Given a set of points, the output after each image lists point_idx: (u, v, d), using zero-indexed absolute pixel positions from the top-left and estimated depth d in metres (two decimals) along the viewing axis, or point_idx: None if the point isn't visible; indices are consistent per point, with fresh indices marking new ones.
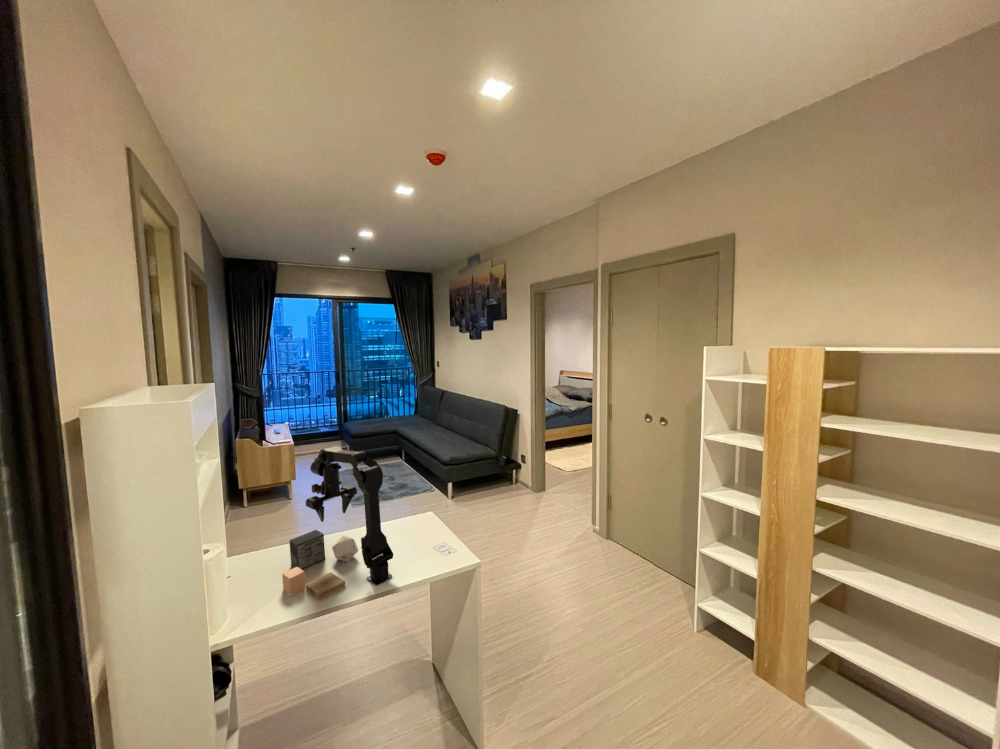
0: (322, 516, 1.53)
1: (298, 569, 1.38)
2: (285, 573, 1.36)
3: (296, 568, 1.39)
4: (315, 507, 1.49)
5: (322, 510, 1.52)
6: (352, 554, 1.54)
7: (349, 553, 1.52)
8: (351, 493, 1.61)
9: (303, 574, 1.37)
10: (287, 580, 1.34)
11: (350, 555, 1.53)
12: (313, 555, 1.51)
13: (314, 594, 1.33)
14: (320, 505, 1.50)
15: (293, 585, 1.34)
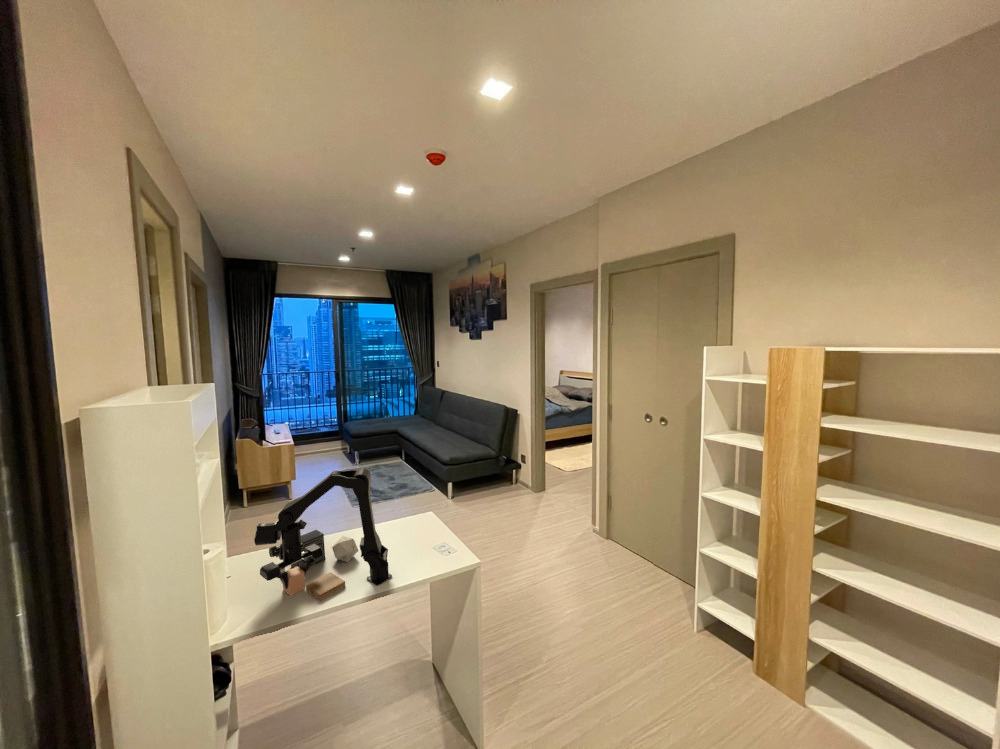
0: (285, 583, 1.33)
1: (298, 569, 1.38)
2: None
3: (296, 568, 1.39)
4: (270, 578, 1.28)
5: (285, 577, 1.32)
6: (352, 554, 1.54)
7: (349, 553, 1.52)
8: (315, 556, 1.40)
9: (303, 573, 1.37)
10: None
11: (350, 555, 1.53)
12: None
13: (314, 594, 1.33)
14: (276, 575, 1.29)
15: (293, 585, 1.34)
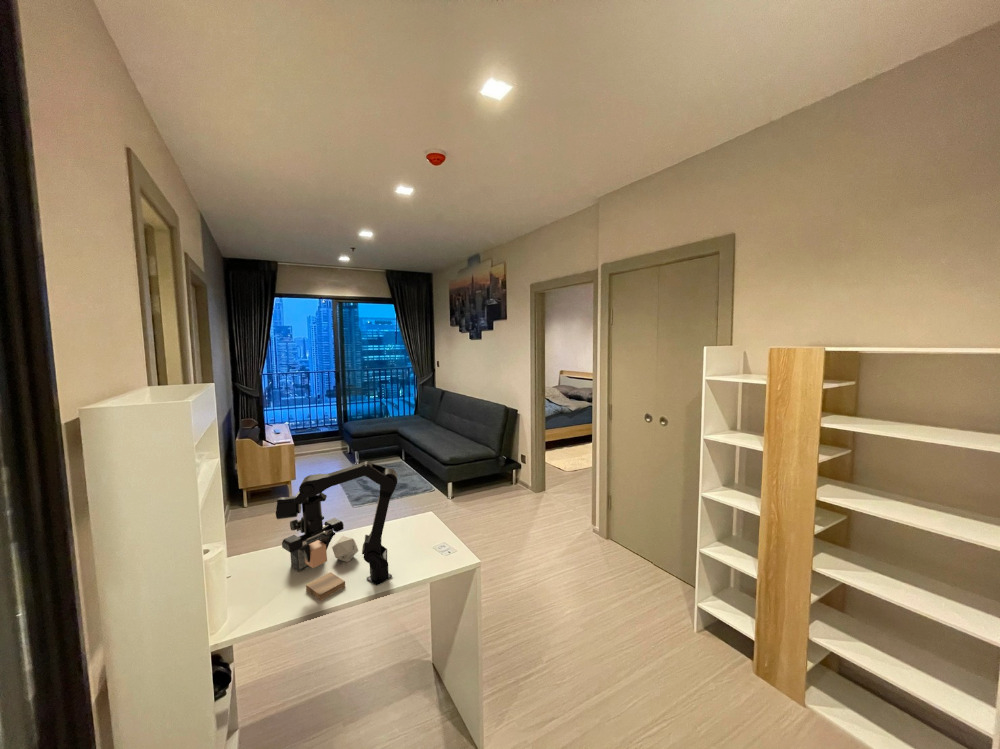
0: (308, 556, 1.33)
1: (319, 542, 1.38)
2: None
3: (317, 541, 1.38)
4: (293, 550, 1.27)
5: (307, 549, 1.31)
6: (352, 554, 1.54)
7: (349, 553, 1.52)
8: (336, 529, 1.39)
9: (324, 546, 1.36)
10: None
11: (350, 555, 1.53)
12: None
13: (314, 594, 1.33)
14: (299, 547, 1.28)
15: (315, 558, 1.34)
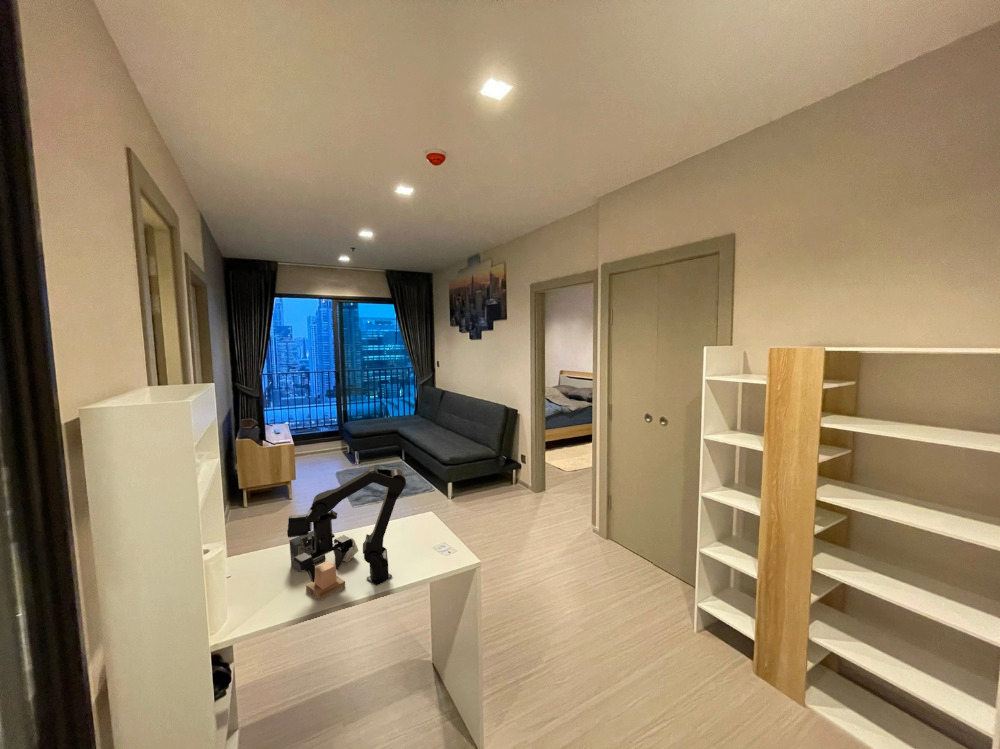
0: (313, 576, 1.32)
1: (329, 563, 1.38)
2: (317, 567, 1.36)
3: (327, 562, 1.39)
4: (303, 568, 1.27)
5: (313, 570, 1.31)
6: (352, 554, 1.54)
7: (349, 553, 1.52)
8: (346, 547, 1.39)
9: (334, 567, 1.37)
10: (319, 574, 1.34)
11: (350, 555, 1.53)
12: None
13: (314, 594, 1.33)
14: (309, 565, 1.29)
15: (325, 579, 1.34)
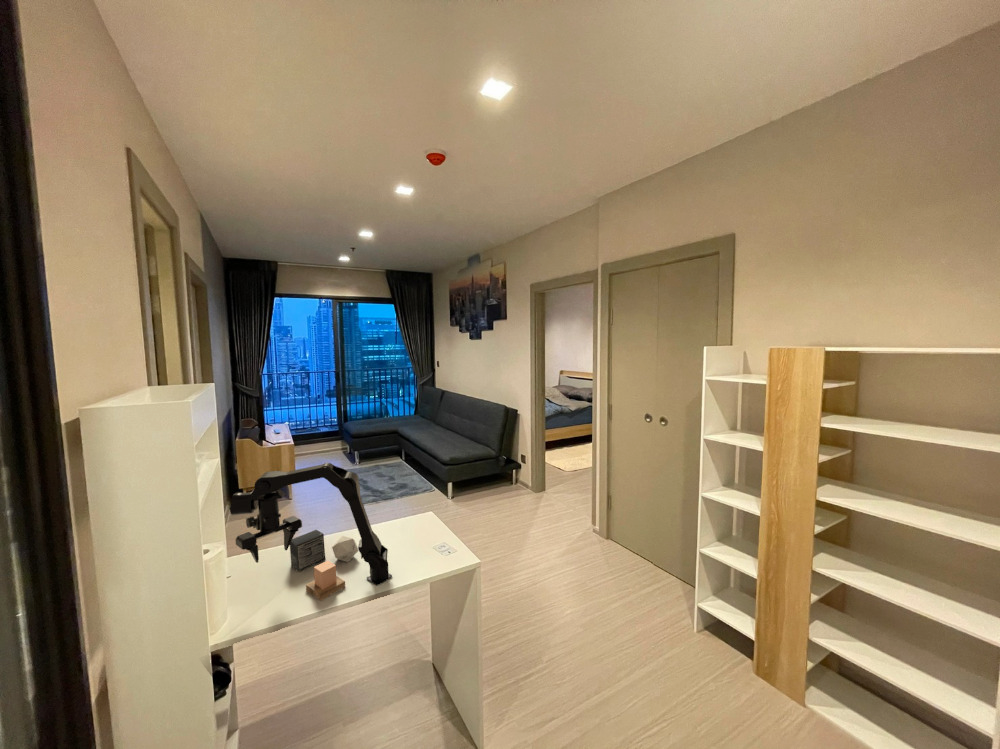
0: (256, 556, 1.29)
1: (329, 563, 1.38)
2: (317, 567, 1.36)
3: (327, 562, 1.39)
4: (245, 547, 1.25)
5: (255, 550, 1.27)
6: (352, 554, 1.54)
7: (349, 553, 1.52)
8: (294, 527, 1.36)
9: (334, 567, 1.37)
10: (319, 574, 1.34)
11: (350, 555, 1.53)
12: (313, 555, 1.51)
13: (314, 594, 1.33)
14: (252, 544, 1.26)
15: (325, 579, 1.34)
